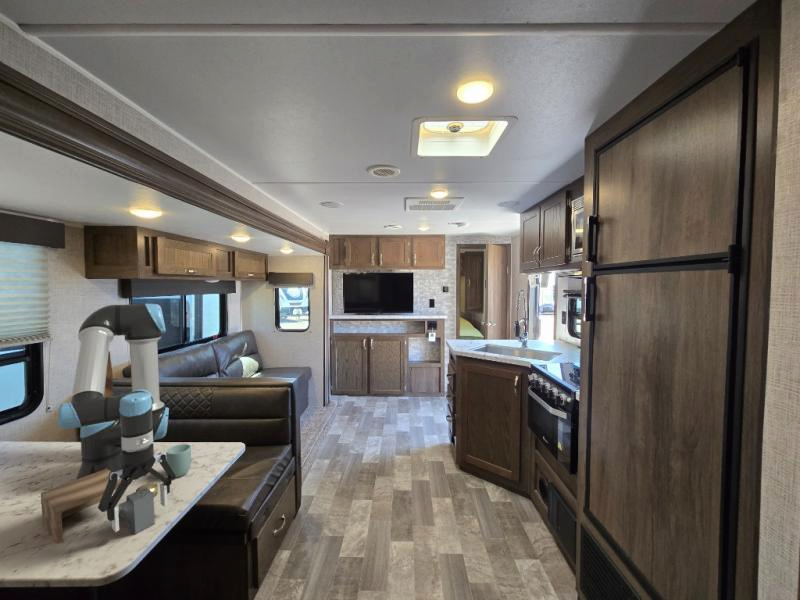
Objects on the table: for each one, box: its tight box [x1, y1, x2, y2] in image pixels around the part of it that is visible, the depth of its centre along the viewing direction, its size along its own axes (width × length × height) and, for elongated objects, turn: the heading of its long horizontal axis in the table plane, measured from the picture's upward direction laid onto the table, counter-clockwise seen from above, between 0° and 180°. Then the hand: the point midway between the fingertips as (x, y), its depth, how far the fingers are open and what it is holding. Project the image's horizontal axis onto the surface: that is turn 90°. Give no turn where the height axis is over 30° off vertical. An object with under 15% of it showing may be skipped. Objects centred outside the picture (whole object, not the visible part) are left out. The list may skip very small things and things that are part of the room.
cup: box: [165, 443, 192, 478], centre depth 132 cm, size 8×8×10 cm
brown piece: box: [40, 469, 122, 544], centre depth 108 cm, size 14×16×10 cm
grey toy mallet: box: [118, 487, 156, 535], centre depth 107 cm, size 15×5×10 cm, turn 58°
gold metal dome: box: [135, 482, 159, 498], centre depth 119 cm, size 6×6×3 cm
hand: (141, 516), depth 104 cm, fingers open, 12 cm apart
